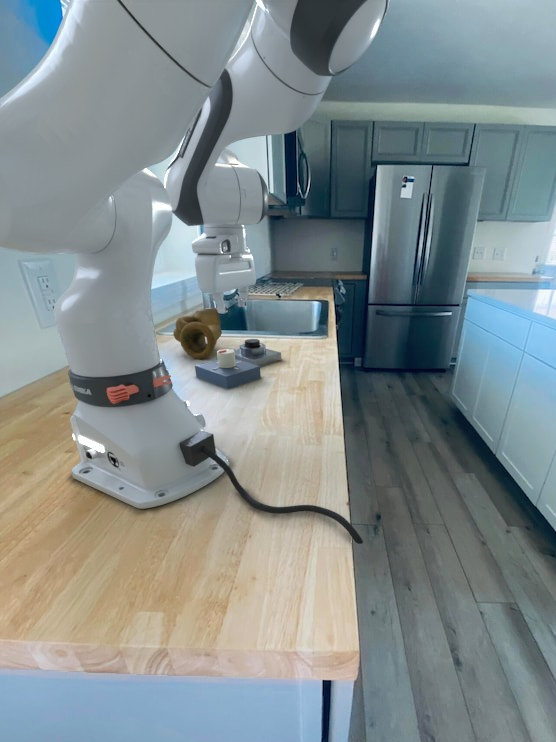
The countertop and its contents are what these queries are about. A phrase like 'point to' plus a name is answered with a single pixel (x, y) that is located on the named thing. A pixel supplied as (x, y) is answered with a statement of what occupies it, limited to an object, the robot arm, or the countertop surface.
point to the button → (252, 343)
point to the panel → (228, 373)
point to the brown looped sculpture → (198, 332)
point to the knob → (226, 358)
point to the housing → (257, 355)
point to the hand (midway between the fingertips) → (233, 309)
